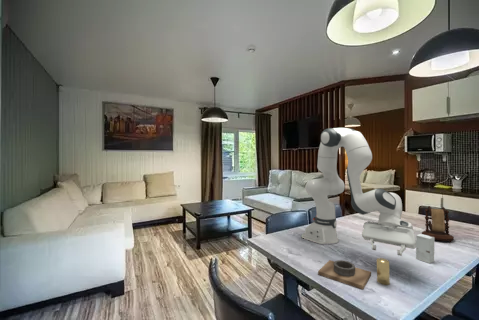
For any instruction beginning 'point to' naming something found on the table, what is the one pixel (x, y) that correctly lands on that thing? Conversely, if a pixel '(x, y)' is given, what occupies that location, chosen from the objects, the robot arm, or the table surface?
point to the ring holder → (345, 273)
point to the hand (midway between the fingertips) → (386, 252)
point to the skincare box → (425, 248)
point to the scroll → (438, 224)
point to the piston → (383, 271)
